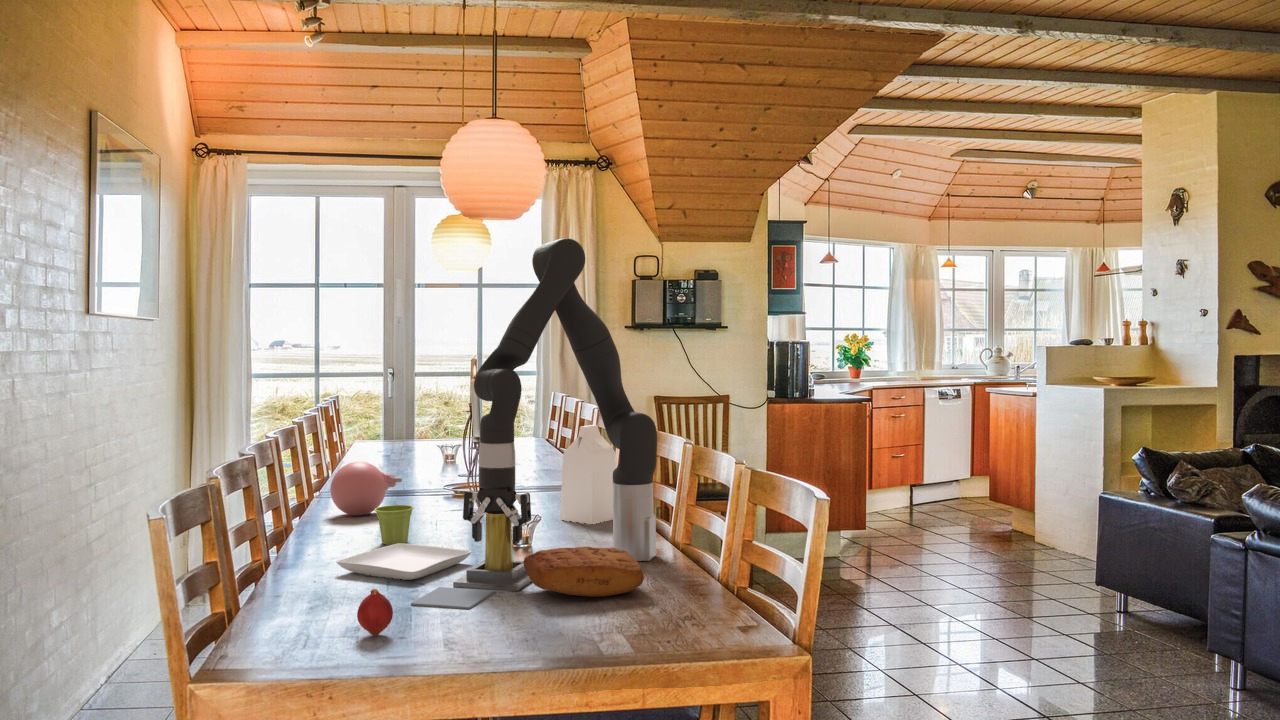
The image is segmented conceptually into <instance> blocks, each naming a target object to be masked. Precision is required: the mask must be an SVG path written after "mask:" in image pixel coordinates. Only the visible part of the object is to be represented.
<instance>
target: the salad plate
mask: <svg viewBox="0 0 1280 720" xmlns="http://www.w3.org/2000/svg"><path fill="white" fill-rule="evenodd" d="M471 554H472V551H471V550H465V549H457V548H449V547H443V546H442V547H440V546H434V545H433V546H432V545H425V544H423V545H422V544H415V543H414V544H413V543H395V544H393V545H386V546H383V547H378V548H376V549H375V548H374V549H372V550H368V551H364V552H361V553H358V554H355V555H352V556H348V557H345V558H341V559H339V560H336V564H337V565H338V566H340V567H341V568H343V569H344V570H346V571H349V572H351V573H352V572H353V573H356V574H358V575H362V574H365V575H364V576H369V575H371V577H376V576H378V577H379V578H384V577H385V578H386V579H392V578H393V579H394V580H400V579H402V581H412V580H413V579H414V580H418V579H420V578H423V577H426V576H429V575H431V574H435V573H439V572H440V571H443V570H445V569H447V568H448V569H449V568H450V567H452V566H455V565H458V564H459V563H461V562H463V561H465V560H466V559H467V558H469V556H471ZM385 578H384V579H385ZM393 579H392V580H393ZM414 580H413V581H414Z"/></svg>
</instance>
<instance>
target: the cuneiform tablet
mask: <svg viewBox="0 0 1280 720" xmlns="http://www.w3.org/2000/svg"><path fill="white" fill-rule="evenodd" d="M523 564H524V567H525V569H526V571H527V574H528V576H529V578H530V580H531V581H532V582H531V583H532V584H533V585H534V586H535V587H538V589H539V588H540V589H542V590H544V591H545V590H546V591H551V592H554V593H560V594H565V595H570V596H580V597H582V596H583V597H602V598H603V597H610V596H615V595H619V594H621V595H622V594H624V593H628V592H632V591H633V590H635V589H637V588H638V587H641V586H642V585H643V582H644V580H645V574H644V571H643V568H642V566H641V565H640V564H639V561H636V560H635V559H634V558H633V557H632V556H631V555H630V554H629V553H628V552H626V551H624V550H618V549H617V548H613V547H592V546H577V547H558V548H551V549H542V550H541V549H540V550H538V551H536V552H533V553H532V554H530V555H527V556H526V557H524V559H523Z"/></svg>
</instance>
